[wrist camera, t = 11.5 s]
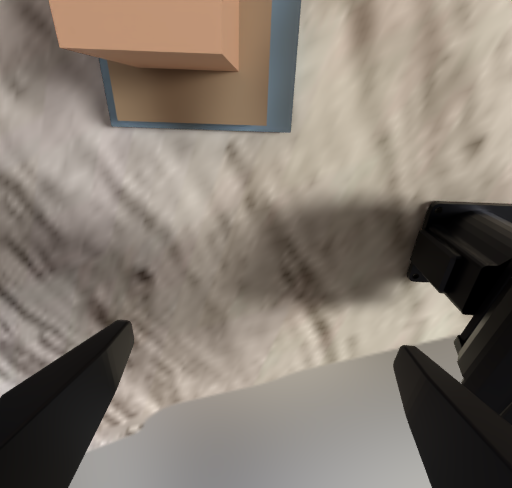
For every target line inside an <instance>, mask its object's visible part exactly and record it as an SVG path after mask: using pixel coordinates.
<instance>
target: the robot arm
mask: <svg viewBox="0 0 512 488" xmlns="http://www.w3.org/2000/svg"><path fill="white" fill-rule="evenodd" d="M437 207H439V210H438V211H436V212H435V209H436V208H437ZM410 260H411V263H410V266H409V269H408V272H407V277H408V278H409V279H410V280H411V281H413V282H430V283H431V284H432V285H433V286H434V287H435V289H436V290H437V291H438V292H439V293H444V294H445V295H446V296H447V297H448V298H449V300H450V301H451V302H452V303H453V304H454V305H455V306H456V307H457V308H458V309H459V310H460V311H461V313H462V314H465V315H473V317H472V319H471V320H470V322H469V323H468V325H467V326H466V328H465V329H464V331H463V332H462V334H461V335H458V336H457V337H456V339H455V341H454V345H455V348H456V350H457V353H458V361H457V362H458V365H459V368H460V370H461V373H462V376H463V377H464V379H463V380H462V382H461V383H462V384H461V383H459V382H458V381H457V380H456V379H454V378H453V377H452V376H451V375H450V374H448V373H447V372H446V371H445V370H444V369H442V368H441V367H440V366H439V365H438V364H436V363H435V362H434V361H432V360H431V359H430V358H429V357H428V356H426V355H425V354H424V353H423V352H422V351H420V350H419V349H418V348H417V347H415V346H408V345H402V346H401V347H400V349H399V351H398V354H397V356H396V358H395V360H394V364H393V367H394V372H395V376H396V380H397V384H398V387H399V391H400V395H401V399H402V403H403V407H404V411H405V414H406V418H407V420H408V423H409V426H410V429H411V432H412V434H413V437H414V440H415V442H416V445H417V448H418V451H419V454H420V456H421V459H422V462H423V464H424V467H425V470H426V473H427V475H428V478H429V481H430V483H431V486H432V488H512V204H489V203H462V202H434V203H432V204H431V205H430V206H429V208H428V211H427V214H426V217H425V220H424V223H423V226H422V229H421V231H420V232H419V234H418V237H417V240H416V243H415V246H414V250H413V253H412V256H411V259H410ZM414 274H416V275H415V276H413V275H414ZM133 344H134V335H133V329H132V324H131V322H130V321H128V320H117V321H115V322H113V323H112V324H110V325H109V326H107V327H106V328H104V329H103V330H101V331H100V332H98V333H97V334H95V335H93V336H92V337H90V338H89V339H87V340H86V341H84V342H83V343H81V344H80V345H78V346H77V347H75V348H74V349H72V350H71V351H69V352H67V353H66V354H64V355H63V356H61V357H60V358H58V359H57V360H55V361H54V362H52V363H51V364H49V365H48V366H46V367H45V368H43V369H42V370H40V371H38V372H37V373H35V374H34V375H32V376H31V377H29V378H28V379H26V380H25V381H23V382H22V383H20V384H19V385H17V386H16V387H14V388H12V389H11V390H9V391H8V392H6V393H5V394H3V395H2V396H1V398H0V488H68V486H69V485H70V483H71V481H72V479H73V477H74V475H75V473H76V471H77V469H78V467H79V465H80V463H81V461H82V459H83V457H84V455H85V453H86V451H87V449H88V447H89V445H90V443H91V441H92V439H93V437H94V435H95V433H96V431H97V429H98V427H99V425H100V423H101V421H102V419H103V417H104V414H105V412H106V410H107V408H108V406H109V404H110V402H111V400H112V398H113V396H114V394H115V392H116V390H117V387H118V385H119V382H120V380H121V377H122V374H123V372H124V369H125V366H126V364H127V361H128V358H129V355H130V353H131V350H132V347H133Z"/></svg>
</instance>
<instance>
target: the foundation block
mask: <svg viewBox="0 0 512 488" xmlns="http://www.w3.org/2000/svg"><path fill="white" fill-rule="evenodd" d="M300 8H301V0H239V72H237V71H212V70H186V69H161V68H138V67H134V66H130V65H126V64H122V63H118V62H114V61H110V60H106V59H102V58H99V62H100V67H101V72H102V78H103V83H104V88H105V94H106V99H107V104H108V109H109V115H110V120H111V125H112V126H117V127H146V128H174V129H203V130H232V131H260V132H289V133H291V121H292V108H293V96H294V83H295V71H296V58H297V46H298V33H299V21H300Z"/></svg>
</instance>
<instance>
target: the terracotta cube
mask: <svg viewBox="0 0 512 488" xmlns="http://www.w3.org/2000/svg"><path fill="white" fill-rule="evenodd" d="M49 4H50V8H51V13H52V17H53V21H54V25H55V30H56V34H57V38H58V42H59V47H60V48H63V49H67V50H71V51H75V52H79V53H82V54H86V55H90V56H94V57H98V58H102V59H106V60H110V61H114V62H118V63H122V64H126V65H130V66H134V67H138V68H161V69H186V70H212V71H237V72H239V0H49Z"/></svg>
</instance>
